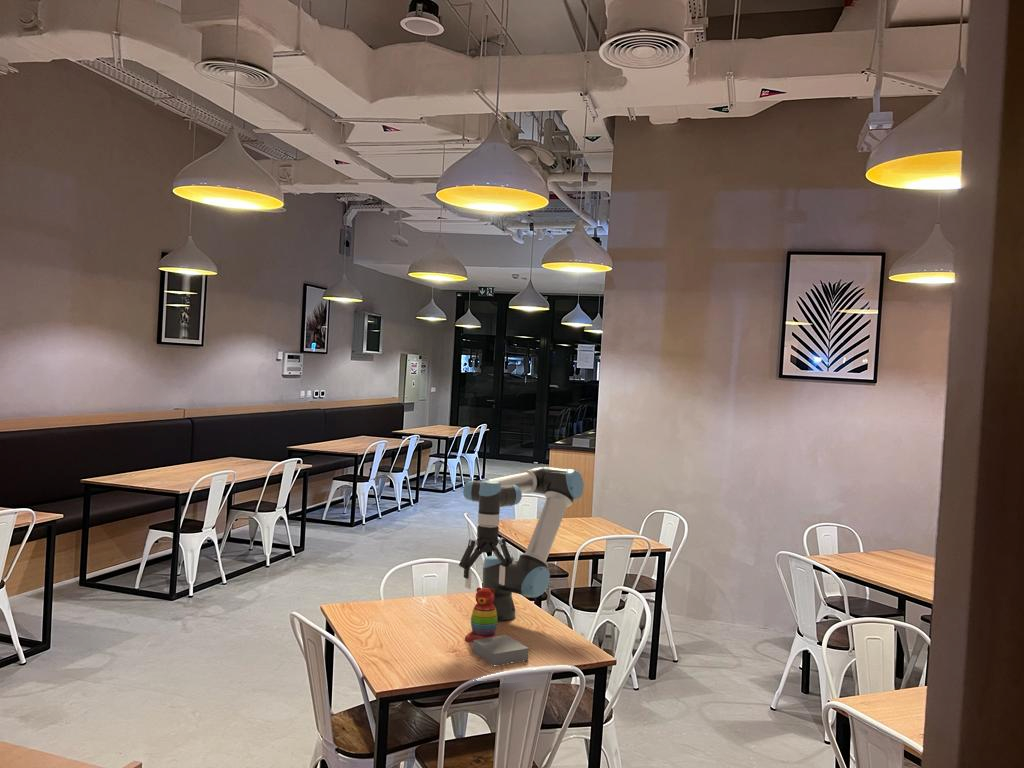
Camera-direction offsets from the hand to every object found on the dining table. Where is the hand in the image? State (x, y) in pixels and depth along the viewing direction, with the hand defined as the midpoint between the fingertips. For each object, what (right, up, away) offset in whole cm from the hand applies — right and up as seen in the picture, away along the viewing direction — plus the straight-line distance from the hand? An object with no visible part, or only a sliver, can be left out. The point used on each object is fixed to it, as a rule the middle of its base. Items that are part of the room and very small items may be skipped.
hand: (484, 586), depth 254 cm
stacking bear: (-1, -19, 0) cm, 19 cm away
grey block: (+6, -19, -16) cm, 25 cm away
